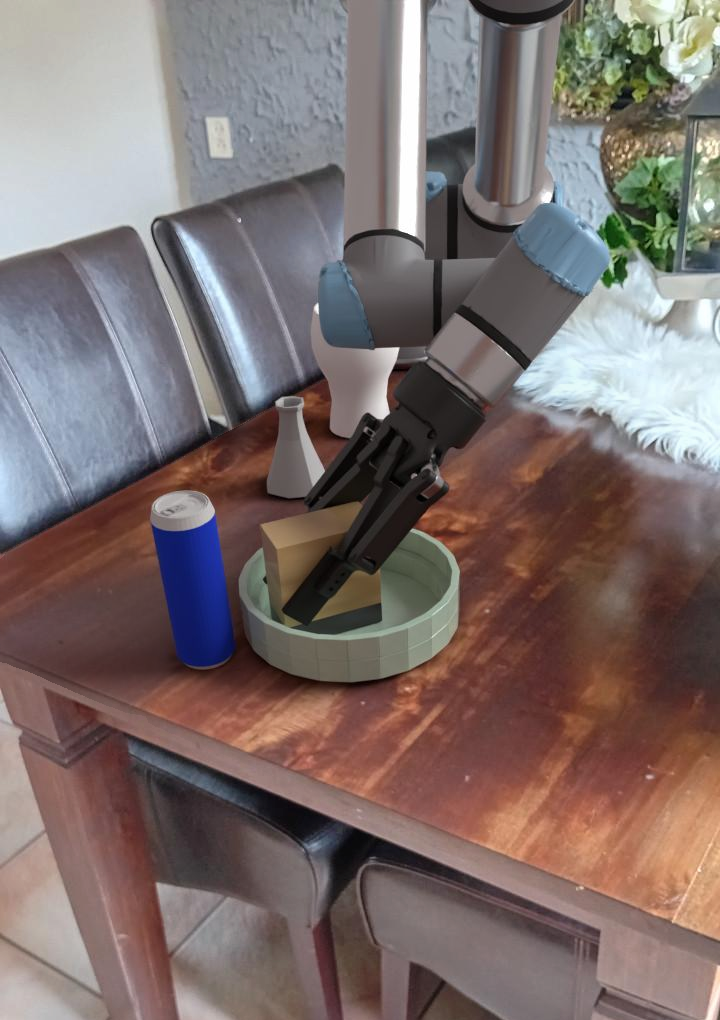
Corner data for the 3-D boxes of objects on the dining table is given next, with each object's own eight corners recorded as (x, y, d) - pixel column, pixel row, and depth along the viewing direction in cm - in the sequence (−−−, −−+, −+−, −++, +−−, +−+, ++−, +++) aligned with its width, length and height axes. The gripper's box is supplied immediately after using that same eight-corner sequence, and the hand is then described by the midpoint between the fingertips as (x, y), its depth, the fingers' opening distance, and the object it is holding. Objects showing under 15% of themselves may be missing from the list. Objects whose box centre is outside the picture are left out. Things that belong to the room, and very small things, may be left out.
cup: (304, 438, 123) (293, 317, 114) (338, 404, 131) (330, 288, 122) (385, 449, 120) (380, 324, 111) (414, 413, 128) (412, 294, 119)
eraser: (363, 595, 93) (357, 500, 87) (382, 621, 90) (378, 523, 84) (271, 620, 91) (259, 524, 85) (287, 647, 87) (276, 548, 81)
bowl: (270, 561, 100) (264, 517, 97) (464, 567, 98) (465, 522, 95) (222, 682, 85) (214, 634, 82) (451, 693, 82) (451, 644, 79)
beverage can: (212, 630, 91) (187, 482, 82) (248, 653, 88) (226, 501, 79) (166, 656, 88) (134, 505, 79) (201, 680, 85) (173, 526, 76)
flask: (321, 502, 110) (314, 416, 104) (257, 498, 111) (247, 414, 105) (335, 472, 116) (329, 389, 110) (275, 469, 117) (266, 387, 111)
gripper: (536, 450, 78) (351, 674, 83) (438, 374, 91) (283, 572, 96) (477, 398, 73) (285, 639, 78) (382, 327, 86) (223, 537, 92)
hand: (284, 602), depth 87 cm, fingers closed on eraser, 4 cm apart
